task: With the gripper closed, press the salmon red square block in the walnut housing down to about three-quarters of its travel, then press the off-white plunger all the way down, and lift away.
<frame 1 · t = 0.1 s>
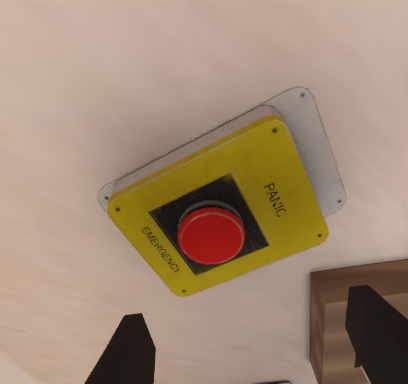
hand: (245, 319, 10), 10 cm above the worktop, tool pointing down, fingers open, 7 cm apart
off-white plunger: (402, 370, 21), point 5 cm above the worktop, slide at 0.0 cm
emergency button: (222, 193, 20), on the worktop
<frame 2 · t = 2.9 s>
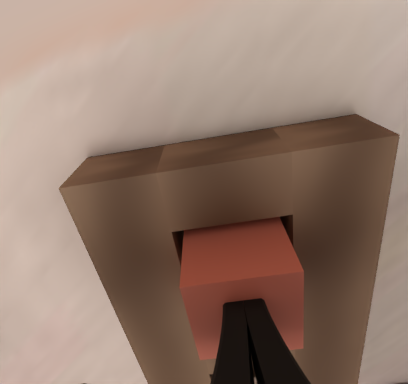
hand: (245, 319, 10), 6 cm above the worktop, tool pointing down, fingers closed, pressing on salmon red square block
walnut plunger housing: (240, 294, 17), on the worktop
salmon red square block: (240, 284, 11), point 4 cm above the worktop, slide at 0.9 cm, touching gripper
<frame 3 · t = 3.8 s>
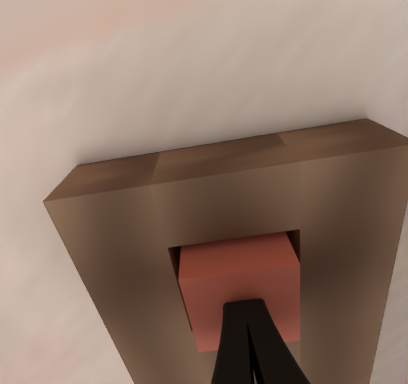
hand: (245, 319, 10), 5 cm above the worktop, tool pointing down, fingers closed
walnut plunger housing: (241, 307, 16), on the worktop
salmon red square block: (238, 278, 12), point 3 cm above the worktop, slide at 2.2 cm
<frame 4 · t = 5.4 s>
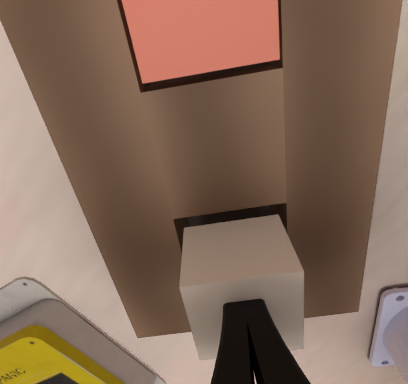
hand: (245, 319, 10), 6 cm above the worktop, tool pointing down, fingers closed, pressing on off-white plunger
walnut plunger housing: (216, 130, 13), on the worktop
off-white plunger: (240, 284, 11), point 5 cm above the worktop, slide at 0.0 cm, touching gripper
emergency button: (67, 349, 22), on the worktop
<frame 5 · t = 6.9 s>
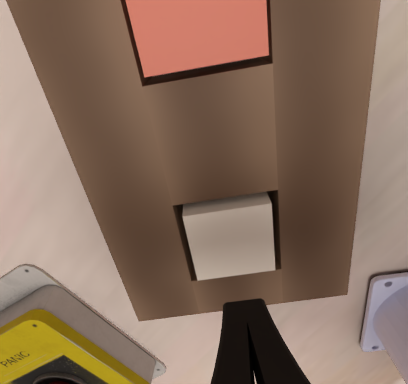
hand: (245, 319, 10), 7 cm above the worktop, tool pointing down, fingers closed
walnut plunger housing: (212, 123, 14), on the worktop
off-white plunger: (228, 225, 15), point 2 cm above the worktop, slide at 3.1 cm
emergency button: (69, 336, 23), on the worktop
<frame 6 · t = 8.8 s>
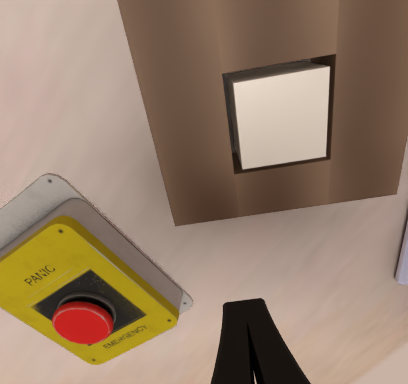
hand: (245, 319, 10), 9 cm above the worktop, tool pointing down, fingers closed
off-white plunger: (274, 113, 14), point 2 cm above the worktop, slide at 3.1 cm
emergency button: (92, 267, 22), on the worktop
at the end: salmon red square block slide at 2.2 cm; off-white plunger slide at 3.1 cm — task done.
